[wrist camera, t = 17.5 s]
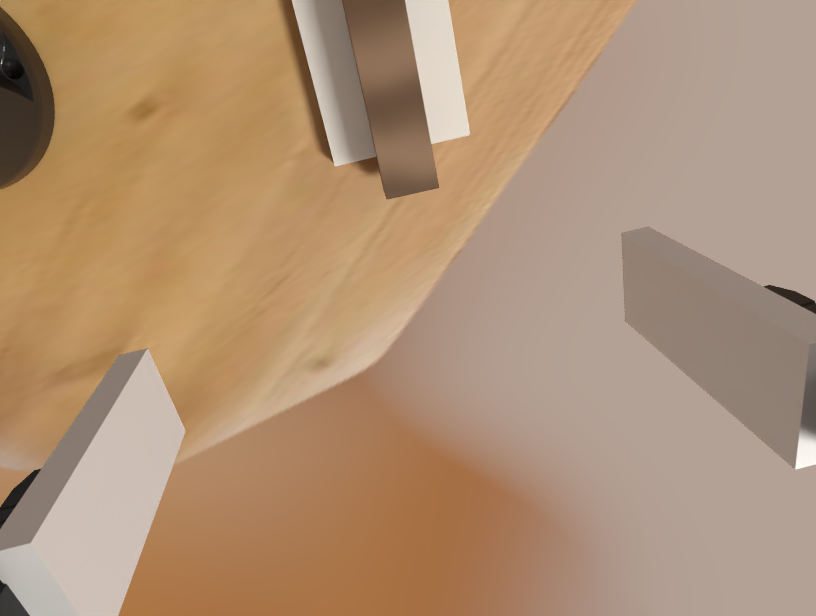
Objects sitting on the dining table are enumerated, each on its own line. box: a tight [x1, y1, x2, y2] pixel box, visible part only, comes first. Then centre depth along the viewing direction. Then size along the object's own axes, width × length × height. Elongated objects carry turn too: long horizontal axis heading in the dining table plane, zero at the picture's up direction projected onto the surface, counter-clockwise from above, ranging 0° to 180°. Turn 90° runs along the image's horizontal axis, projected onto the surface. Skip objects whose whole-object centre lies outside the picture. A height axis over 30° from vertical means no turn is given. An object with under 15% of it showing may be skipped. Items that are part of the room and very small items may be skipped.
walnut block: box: [342, 0, 439, 199], centre depth 39 cm, size 26×4×4 cm, turn 12°
